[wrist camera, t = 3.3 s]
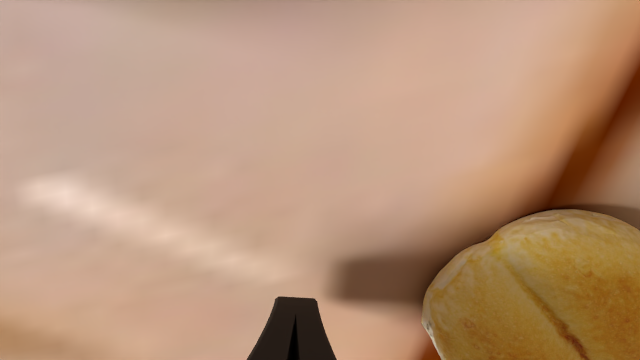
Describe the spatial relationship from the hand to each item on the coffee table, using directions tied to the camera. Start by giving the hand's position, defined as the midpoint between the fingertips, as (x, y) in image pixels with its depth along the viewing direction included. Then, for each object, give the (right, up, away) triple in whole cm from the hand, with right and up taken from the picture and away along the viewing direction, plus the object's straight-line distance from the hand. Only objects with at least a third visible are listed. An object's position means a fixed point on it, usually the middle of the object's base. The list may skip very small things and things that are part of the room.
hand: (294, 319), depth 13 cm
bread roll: (+9, 0, +3) cm, 10 cm away
